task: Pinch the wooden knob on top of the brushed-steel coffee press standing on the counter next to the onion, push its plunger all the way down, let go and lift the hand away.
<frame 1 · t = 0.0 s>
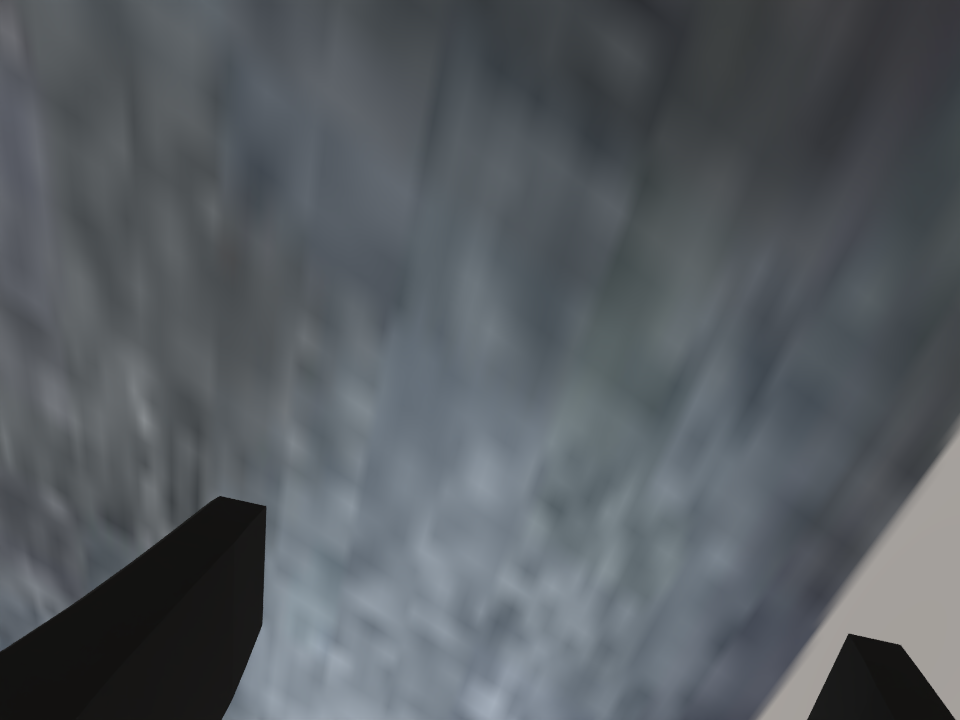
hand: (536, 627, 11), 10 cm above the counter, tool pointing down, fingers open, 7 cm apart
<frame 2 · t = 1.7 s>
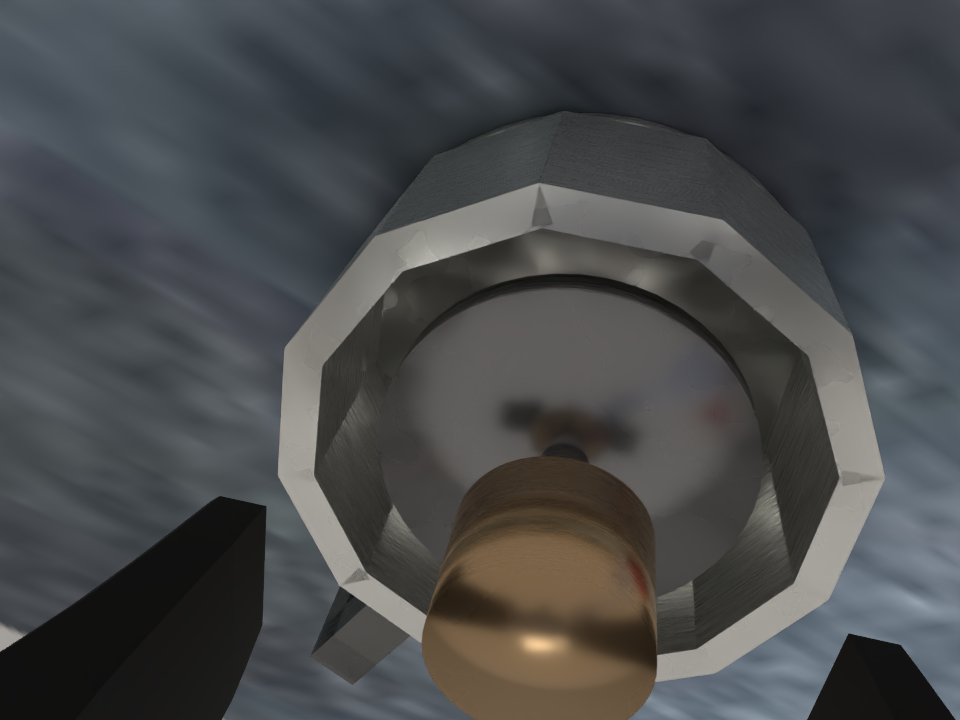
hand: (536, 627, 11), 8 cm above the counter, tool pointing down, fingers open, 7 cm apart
press pot: (580, 343, 18), on the counter
plunger: (554, 535, 13), point 6 cm above the counter, slide at 0.0 cm
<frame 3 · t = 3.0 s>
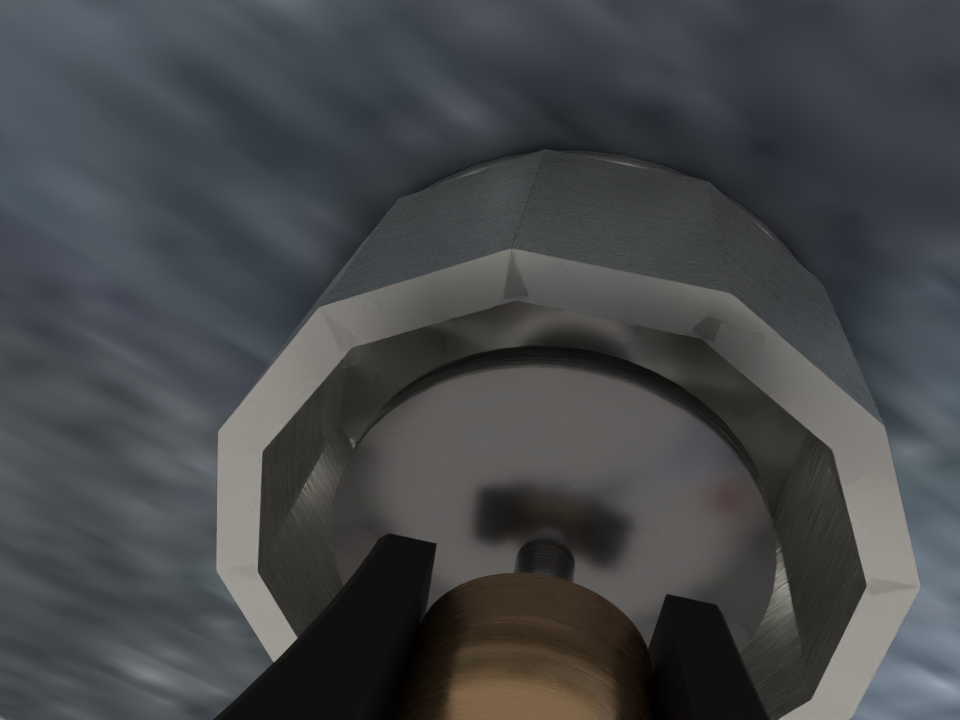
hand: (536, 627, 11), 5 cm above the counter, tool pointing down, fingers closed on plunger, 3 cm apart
press pot: (567, 403, 16), on the counter
plunger: (532, 658, 11), point 6 cm above the counter, slide at 0.0 cm, touching gripper
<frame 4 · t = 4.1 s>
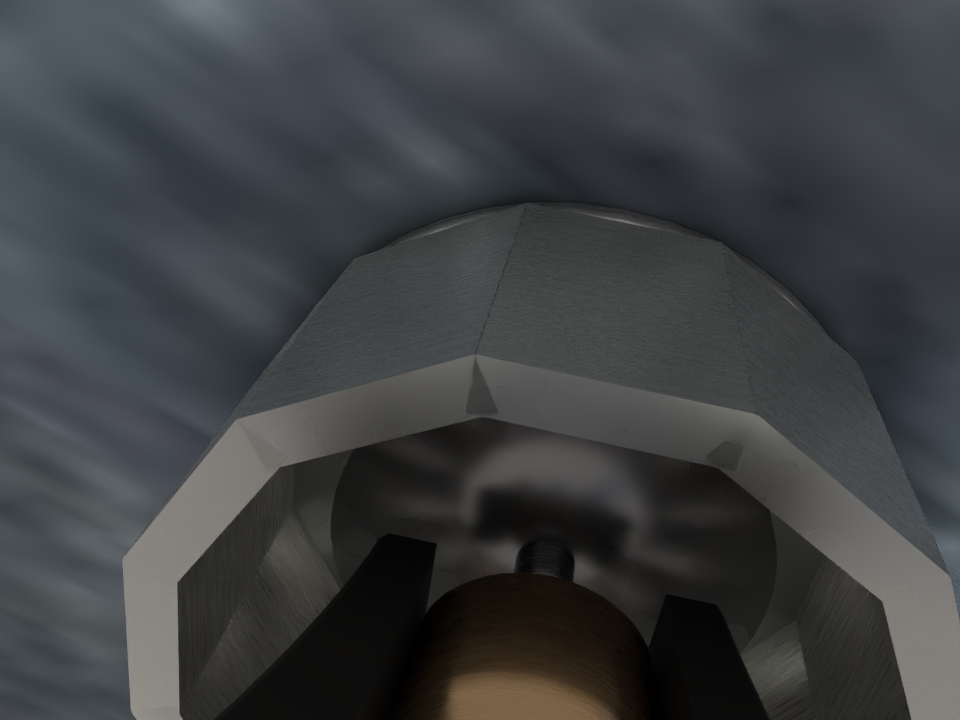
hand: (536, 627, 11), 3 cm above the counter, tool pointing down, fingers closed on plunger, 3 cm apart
press pot: (556, 487, 14), on the counter
plunger: (532, 658, 11), point 3 cm above the counter, slide at 2.5 cm, touching gripper
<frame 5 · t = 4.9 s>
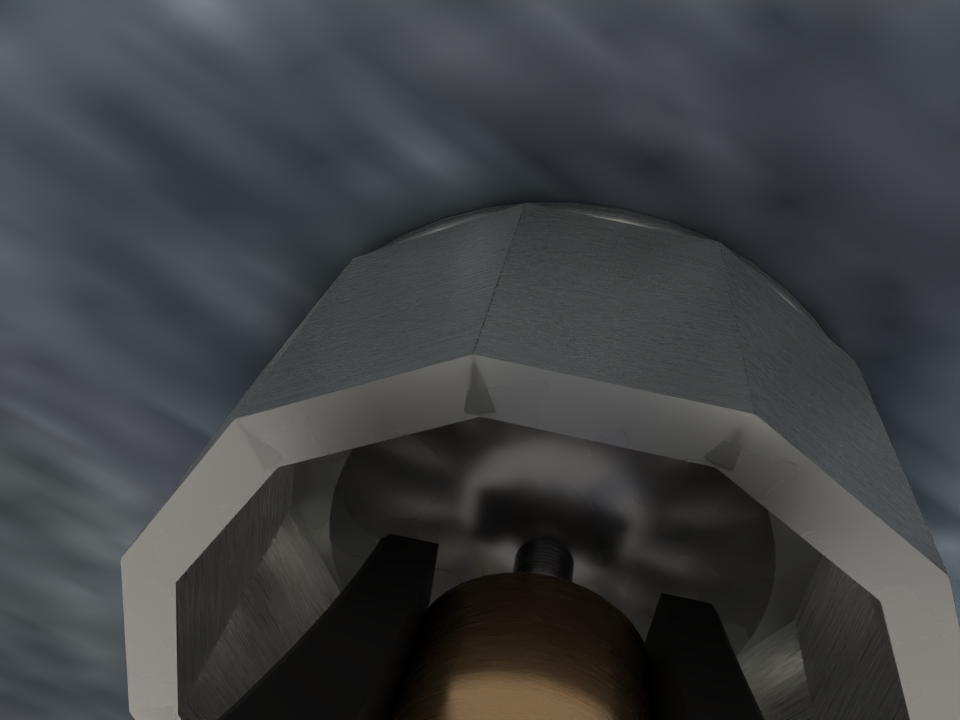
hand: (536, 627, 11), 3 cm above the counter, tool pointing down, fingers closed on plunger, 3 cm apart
press pot: (554, 487, 14), on the counter
plunger: (530, 657, 11), point 3 cm above the counter, slide at 2.5 cm, touching gripper
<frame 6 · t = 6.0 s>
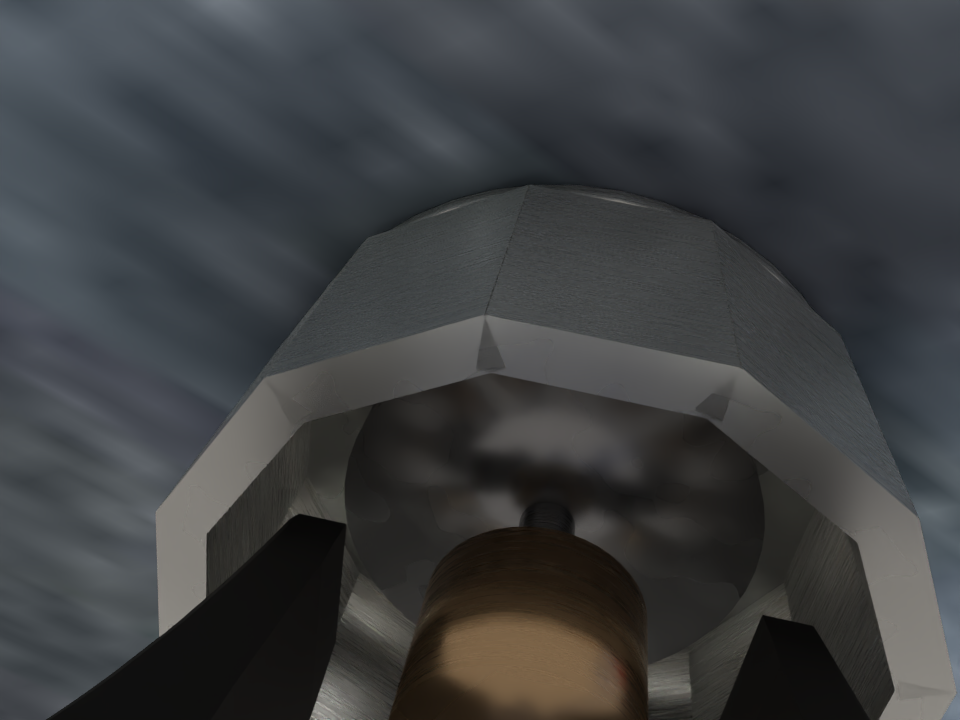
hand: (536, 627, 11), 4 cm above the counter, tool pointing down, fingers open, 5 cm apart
press pot: (556, 457, 15), on the counter
plunger: (535, 609, 12), point 3 cm above the counter, slide at 2.5 cm
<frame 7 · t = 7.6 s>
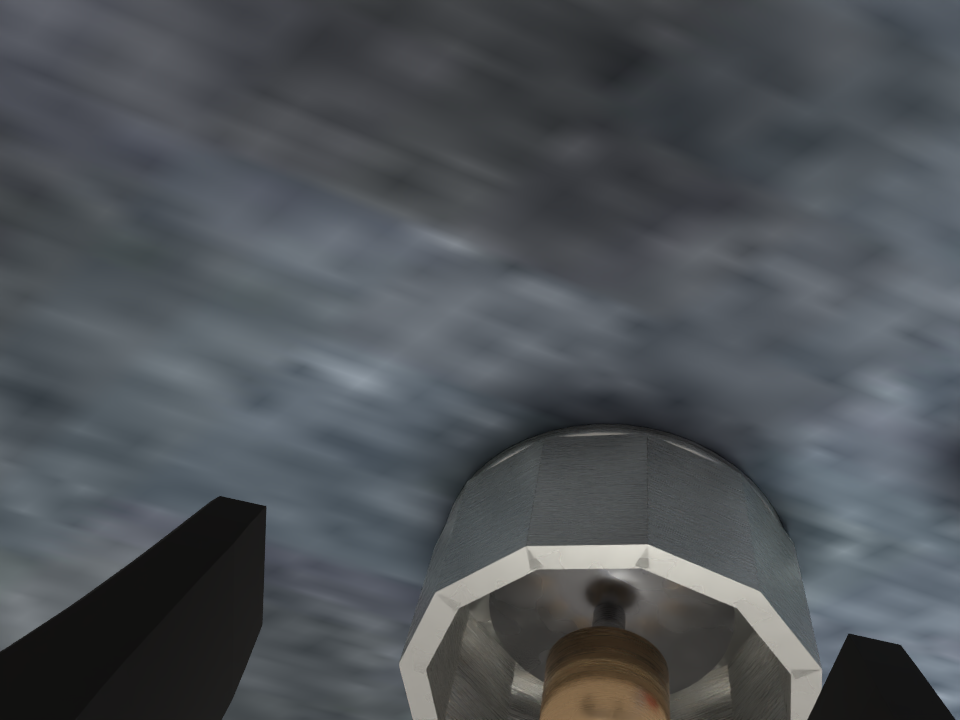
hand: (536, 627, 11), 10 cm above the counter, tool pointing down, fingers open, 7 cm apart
press pot: (611, 569, 24), on the counter
plunger: (606, 668, 21), point 3 cm above the counter, slide at 2.5 cm
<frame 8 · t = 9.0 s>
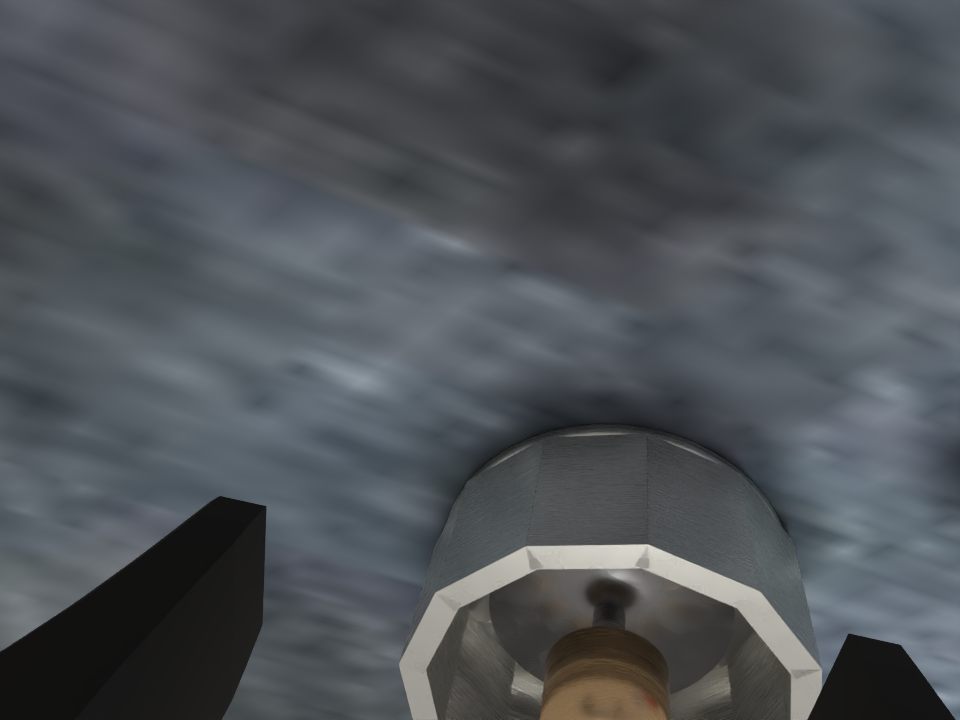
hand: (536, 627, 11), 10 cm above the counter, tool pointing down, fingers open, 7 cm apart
press pot: (611, 569, 24), on the counter
plunger: (606, 668, 21), point 3 cm above the counter, slide at 2.5 cm
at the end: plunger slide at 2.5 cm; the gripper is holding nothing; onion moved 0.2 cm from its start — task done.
